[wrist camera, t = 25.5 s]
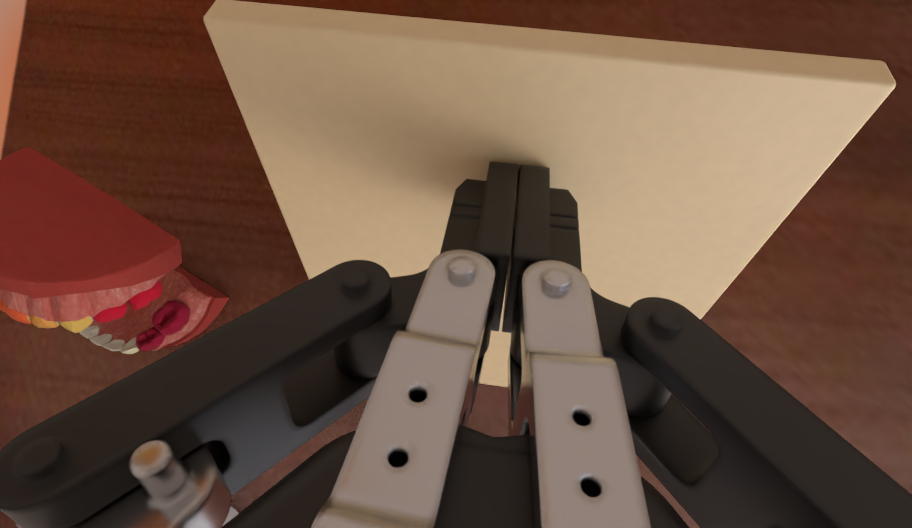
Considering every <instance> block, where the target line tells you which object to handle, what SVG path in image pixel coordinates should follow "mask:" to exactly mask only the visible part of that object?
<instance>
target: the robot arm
mask: <svg viewBox="0 0 912 528" xmlns="http://www.w3.org/2000/svg"><path fill="white" fill-rule="evenodd" d="M517 172H518V164H510V163H501V162H492V161H490V162H489V168H488V174H487V180H486V181H483V180H474V179H466V180H465V181H464V182H463V183H462V184H461V185H460V186H459V187H458V188H456V190H455V194H454V198H453V202H452V206H451V211H450V216H449V219H448V223H447V227H446V231H445V235H444V239H443V243H442V248H441V252H440V255H438V256H437V257H435V258H434V259H433V260H432V262H431V263H430V265H429V268H428V269H426V270H424V271H422V272H420V273H416V274H413V275H407V276H399V277H390V275H389V273H388V272H387V270H386V269H385V268H384V267H382V266H381V265H379V264H377V263H375V262H372V261H367V260H351V261H346V262H343V263H340V264H338V265H336V266H334V267H332V268H330V269H328V270H327V271H325V272H323V273H321V274H319V275H317V276H315V277H313V278H312V279H310V280H308V281H306V282H304V283H302V284H300V285H298V286H297V287H295V288H293V289H291V290H289V291H287V292H285V293H283V294H282V295H280V296H278V297H276V298H274V299H272V300H270V301H268V302H267V303H265V304H263V305H261V306H259V307H257V308H255V309H253V310H252V311H250V312H248V313H246V314H244V315H242V316H240V317H238V318H236V319H235V320H233V321H231V322H229V323H227V324H225V325H223V326H221V327H220V328H218V329H216V330H214V331H212V332H210V333H208V334H206V335H205V336H203V337H201V338H199V339H197V340H195V341H193V342H191V343H190V344H188V345H186V346H184V347H182V348H180V349H178V350H176V351H175V352H173V353H171V354H169V355H167V356H165V357H163V358H161V359H160V360H158V361H156V362H154V363H152V364H150V365H148V366H146V367H145V368H143V369H141V370H139V371H137V372H135V373H133V374H131V375H130V376H128V377H126V378H124V379H122V380H120V381H118V382H116V383H115V384H113V385H111V386H109V387H107V388H105V389H103V390H101V391H100V392H98V393H96V394H94V395H92V396H90V397H88V398H86V399H85V400H83V401H81V402H79V403H77V404H75V405H73V406H71V407H70V408H68V409H66V410H64V411H62V412H60V413H58V414H56V415H55V416H53V417H51V418H49V419H47V420H45V421H43V422H41V423H40V424H38V425H36V426H34V427H32V428H30V429H28V430H27V431H25V432H23V433H22V434H20V435H19V436H17V437H16V438H15V439H13V440H12V441H11V442H10V443H8V444H7V445H6V446H5V447H4V448H3V449H2V450H1V451H0V511H2V512H3V513H4V514H6V515H7V516H8V517H9V518H11V519H12V520H13V521H15V523H16V525H17V527H18V528H689V527H688V526H687V524H686V523H685V522H684V521H683V519H682V518H681V517H680V516H679V515H678V513H677V512H676V511H675V510H674V508H673V507H672V506H671V505H670V504H669V502H668V501H667V500H666V499H665V498H664V497H663V496H662V495H661V494H660V493H659V492H658V491H657V490H656V489H655V488H654V487H653V486H652V485H651V484H650V483H649V482H647V481H646V480H645V479H644V478H642V477H641V476H640V472H639V467H638V462H637V457H636V455H637V456H638V457H639V458H640V459H641V460H642V461H643V463H644V464H645V465H646V466H647V467H648V468H649V469H650V471H651V472H652V473H653V474H654V475H655V476H656V477H657V479H658V480H659V481H660V482H661V483H662V484H663V485H664V487H665V488H666V489H667V490H668V491H669V492H670V493H671V495H672V496H673V497H674V498H675V499H676V500H677V501H678V503H679V504H680V505H681V506H682V507H683V508H684V509H685V511H686V512H687V513H688V514H689V515H690V516H691V517H692V519H693V520H694V521H695V522H696V523H697V524H698V525H699V527H700V528H912V495H911V494H910V493H909V492H908V491H907V490H905V489H904V488H903V487H902V486H900V485H899V484H898V483H897V482H896V481H894V480H893V479H892V478H891V477H890V476H888V475H887V474H886V473H885V472H884V471H882V470H881V469H880V468H879V467H878V466H876V465H875V464H874V463H873V462H872V461H870V460H869V459H868V458H867V457H866V456H864V455H863V454H862V453H861V452H859V451H858V450H857V449H856V448H855V447H853V446H852V445H851V444H850V443H849V442H847V441H846V440H845V439H844V438H843V437H841V436H840V435H839V434H838V433H837V432H835V431H834V430H833V429H832V428H831V427H829V426H828V425H827V424H826V423H825V422H823V421H822V420H821V419H820V418H818V417H817V416H816V415H815V414H814V413H812V412H811V411H810V410H809V409H808V408H806V407H805V406H804V405H803V404H802V403H800V402H799V401H798V400H797V399H796V398H794V397H793V396H792V395H791V394H790V393H788V392H787V391H786V390H785V389H784V388H782V387H781V386H780V385H779V384H777V383H776V382H775V381H774V380H773V379H771V378H770V377H769V376H768V375H767V374H765V373H764V372H763V371H762V370H761V369H759V368H758V367H757V366H756V365H755V364H753V363H752V362H751V361H750V360H749V359H747V358H746V357H745V356H744V355H743V354H741V353H740V352H739V351H738V350H737V349H735V348H734V347H733V346H732V345H730V344H729V343H728V342H727V341H726V340H724V339H723V338H722V337H721V336H720V335H718V334H717V333H716V332H715V331H714V330H712V329H711V328H710V327H709V326H708V325H706V324H705V323H704V322H703V321H702V320H700V319H699V318H698V317H697V316H696V315H694V314H693V313H692V312H691V311H689V310H688V309H687V308H685V307H684V306H682V305H680V304H679V303H676V302H674V301H672V300H669V299H665V298H659V297H647V298H643V299H640V300H638V301H636V302H634V303H633V304H632V305H631V307H627V306H624V305H622V304H619V303H616V302H613V301H611V300H609V299H606V298H604V297H603V296H601V295H599V294H598V293H596V292H595V291H594V290H593V289H592V288H591V287H590V284H589V281H588V279H587V277H586V276H585V275H584V274H583V273H582V266H581V250H580V235H579V220H578V205H577V202H576V200H575V199H574V197H573V196H572V195H571V193H570V192H569V190H566V189H557V188H550V168H548V167H539V166H530V165H520V171H519V178H518V185H517V192H516V183H517ZM515 194H516V199H515ZM505 286H506V291H505ZM504 293H505V302H504V313H503V324H502V332H507V333H511V343H510V350H509V356H508V422H509V435H508V436H507V437H491V436H488V435H485V434H483V433H480V432H478V431H475V430H473V429H470V424H471V419H472V415H473V410H474V405H475V401H476V396H477V391H478V387H479V382H480V377H481V373H482V368H483V363H484V358H485V353H486V351H487V350H488V347H489V342H490V335H491V331H499V327H500V320H501V313H502V307H503V300H504ZM369 396H370V397H369ZM368 397H369V400H368V402H367V405H366V407H365V410H364V412H363V415H362V417H361V420H360V422H359V425H358V428H357V430H356V431H353V432H350V433H348V434H345V435H343V436H341V437H339V438H337V439H335V440H333V441H332V442H330V443H329V444H327V445H325V446H324V447H322V448H321V449H320V450H318V451H317V452H316V453H314V454H313V455H312V456H311V457H309V458H308V459H307V460H306V461H304V462H303V463H302V464H301V465H299V466H298V467H297V468H296V469H294V470H293V471H292V472H291V473H289V474H288V475H287V476H285V477H284V478H283V479H282V480H280V481H279V482H278V483H277V484H275V485H274V486H273V487H272V488H270V489H269V490H268V491H267V492H265V493H264V494H263V495H262V496H260V497H259V498H258V499H256V500H255V501H254V502H253V503H251V504H250V505H249V506H248V507H246V508H245V509H244V510H243V511H241V512H240V513H239V514H238V515H236V516H235V517H234V518H233V519H231V520H230V521H229V522H227V523H226V524H225V525H224V526H222V525H223V524H224V522H225V520H226V518H227V516H228V514H229V510H230V507H231V496H232V495H234V494H235V493H237V492H238V491H239V490H241V489H242V488H244V487H245V486H246V485H248V484H249V483H250V482H252V481H253V480H255V479H256V478H257V477H259V476H260V475H262V474H263V473H264V472H266V471H267V470H268V469H270V468H271V467H273V466H274V465H275V464H277V463H278V462H279V461H281V460H282V459H284V458H285V457H286V456H288V455H289V454H291V453H292V452H293V451H295V450H296V449H297V448H299V447H300V446H302V445H303V444H304V443H306V442H307V441H308V440H310V439H311V438H313V437H314V436H315V435H317V434H318V433H320V432H321V431H322V430H324V429H325V428H326V427H328V426H329V425H331V424H332V423H333V422H335V421H336V420H337V419H339V418H340V417H342V416H343V415H344V414H346V413H347V412H349V411H350V410H351V409H353V408H354V407H355V406H357V405H358V404H360V403H361V402H362V401H364V400H365V399H367V398H368ZM679 401H680V402H681V403H682V404H683V405H684V406H685V407H686V408H687V409H688V410H689V411H690V412H691V413H692V414H693V415H694V416H695V417H696V418H697V419H698V420H699V421H700V422H701V423H702V424H703V425H704V426H705V427H706V428H707V429H708V430H709V431H710V432H711V433H710V432H709V431H708V430H707V429H706V428H705V427H704V426H703V425H702V424H701V423H700V422H699V421H698V420H697V419H696V418H695V417H694V416H693V415H692V414H691V413H690V412H689V411H688V410H687V409H686V408H685V407H684V406H683V405H682V404H681V403H680V402H679Z"/></svg>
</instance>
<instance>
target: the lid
mask: <svg viewBox="0 0 912 528" xmlns="http://www.w3.org/2000/svg"><path fill="white" fill-rule="evenodd" d="M204 23H205V25H206V28H207V30H208V33H209V35H210V38H211V40H212V43H213V45H214V48H215V50H216V52H217V55H218V57H219V60H220V62H221V65H222V67H223V70H224V72H225V75H226V77H227V79H228V82H229V84H230V87H231V89H232V92H233V94H234V97H235V99H236V102H237V104H238V107H239V109H240V111H241V114H242V116H243V119H244V121H245V124H246V126H247V129H248V131H249V134H250V136H251V138H252V141H253V143H254V146H255V148H256V151H257V153H258V156H259V158H260V161H261V163H262V165H263V168H264V170H265V173H266V175H267V178H268V180H269V183H270V185H271V188H272V190H273V193H274V195H275V197H276V200H277V202H278V205H279V207H280V210H281V212H282V215H283V217H284V220H285V222H286V224H287V227H288V229H289V232H290V234H291V237H292V239H293V242H294V244H295V247H296V249H297V251H298V254H299V256H300V259H301V261H302V264H303V266H304V269H305V271H306V274H307V276H308V278H309V280H310V279H312V278H313V277H315V276H317V275H319V274H321V273H323V272H325V271H327V270H328V269H330V268H332V267H334V266H336V265H338V264H340V263H343V262H346V261H351V260H367V261H372V262H375V263H377V264H379V265H381V266H382V267H384V268H385V269H386V270H387V272H388V273H389V275H390V277H399V276H407V275H413V274H416V273H420V272H422V271H424V270H426V269H428V268H429V265H430V263H431V262H432V260H433V259H434V258H435V257H437V256H438V255H440V252H441V248H442V243H443V239H444V235H445V231H446V227H447V223H448V219H449V216H450V211H451V206H452V202H453V198H454V194H455V190H456V188H458V187H459V186H460V185H461V184H462V183H463V182H464V181H465V180H466V179H474V180H483V181H486V180H487V174H488V168H489V162H490V161H492V162H501V163H510V164H518V172H517V183H516V192H517V185H518V178H519V171H520V165H530V166H539V167H548V168H550V188H557V189H566V190H569V192H570V193H571V195H572V196H573V197H574V199H575V200H576V202H577V205H578V220H579V235H580V250H581V266H582V273H583V274H584V275H585V276H586V277H587V279H588V281H589V284H590V287H591V288H592V289H593V290H594V291H595V292H596V293H598V294H599V295H601V296H603V297H604V298H606V299H609V300H611V301H613V302H616V303H619V304H622V305H624V306H627V307H631V305H632V304H633V303H634V302H636V301H638V300H640V299H643V298H647V297H659V298H665V299H669V300H672V301H674V302H676V303H679V304H680V305H682V306H684V307H685V308H687V309H688V310H689V311H691V312H692V313H693V314H694V315H696V316H697V317H698V318H699V319H700V320H701V318H702V317H703V316H704V315H705V314H706V312H707V311H708V310H709V309H710V308H711V306H712V305H713V304H714V303H715V302H716V301H717V299H718V298H719V297H720V296H721V295H722V293H723V292H724V291H725V290H726V289H727V287H728V286H729V285H730V284H731V283H732V281H733V280H734V279H735V278H736V277H737V275H738V274H739V273H740V272H741V271H742V269H743V268H744V267H745V266H746V265H747V264H748V262H749V261H750V260H751V259H752V258H753V256H754V255H755V254H756V253H757V252H758V250H759V249H760V248H761V247H762V246H763V244H764V243H765V242H766V241H767V240H768V238H769V237H770V236H771V235H772V234H773V233H774V231H775V230H776V229H777V228H778V227H779V225H780V224H781V223H782V222H783V221H784V219H785V218H786V217H787V216H788V215H789V213H790V212H791V211H792V210H793V209H794V207H795V206H796V205H797V204H798V203H799V201H800V200H801V199H802V198H803V197H804V196H805V194H806V193H807V192H808V191H809V190H810V188H811V187H812V186H813V185H814V184H815V182H816V181H817V180H818V179H819V178H820V176H821V175H822V174H823V173H824V172H825V170H826V169H827V168H828V167H829V166H830V165H831V163H832V162H833V161H834V160H835V159H836V157H837V156H838V155H839V154H840V153H841V151H842V150H843V149H844V148H845V147H846V145H847V144H848V143H849V142H850V141H851V139H852V138H853V137H854V136H855V135H856V133H857V132H858V131H859V130H860V129H861V128H862V126H863V125H864V124H865V123H866V122H867V120H868V119H869V118H870V117H871V116H872V114H873V113H874V112H875V111H876V110H877V108H878V107H879V106H880V105H881V104H882V102H883V101H884V100H885V99H886V98H887V96H888V95H889V94H890V93H891V92H892V91H893V89H894V88H895V86H896V82H895V80H894V78H893V76H892V74H891V72H890V71H889V69H888V67H887V65H886V63H884V62H883V61H878V60H867V59H856V58H846V57H835V56H824V55H813V54H803V53H792V52H781V51H771V50H760V49H749V48H738V47H728V46H717V45H706V44H696V43H685V42H674V41H663V40H653V39H642V38H631V37H620V36H610V35H599V34H588V33H578V32H567V31H556V30H545V29H535V28H524V27H513V26H502V25H492V24H481V23H470V22H460V21H449V20H438V19H427V18H417V17H406V16H395V15H385V14H374V13H363V12H352V11H342V10H331V9H320V8H309V7H299V6H288V5H277V4H267V3H256V2H245V1H234V0H216V1H215V2H214V4H213V5H212V6H211V8H210V9H209V10H208V12H207V13H206V14H205V16H204ZM515 199H516V194H515ZM505 291H506V286H505ZM504 302H505V293H504V300H503V307H502V313H501V320H500V327H499V331H491V335H490V342H489V347H488V350H487V351H486V353H485V358H484V363H483V368H482V373H481V377H480V382H479V383H482V384H489V385H496V386H503V387H508V356H509V350H510V343H511V333H507V332H502V324H503V313H504Z"/></svg>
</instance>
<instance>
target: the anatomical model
mask: <svg viewBox="0 0 912 528" xmlns="http://www.w3.org/2000/svg"><path fill="white" fill-rule="evenodd" d="M181 263H182V255H181V243H180V241H179V240H178V239H177V238H176V237H174V236H173V235H171V234H170V233H168V232H166V231H165V230H163V229H162V228H160V227H159V226H157V225H155V224H154V223H152V222H151V221H149V220H148V219H146V218H144V217H143V216H141V215H140V214H138V213H137V212H135V211H133V210H132V209H130V208H129V207H127V206H126V205H124V204H122V203H121V202H119V201H118V200H116V199H115V198H113V197H111V196H110V195H108V194H107V193H105V192H104V191H102V190H100V189H99V188H97V187H95V186H94V185H92V184H90V183H89V182H87V181H86V180H84V179H82V178H81V177H79V176H77V175H76V174H74V173H72V172H71V171H69V170H68V169H66V168H64V167H63V166H61V165H59V164H58V163H56V162H54V161H53V160H51V159H49V158H48V157H46V156H45V155H43V154H41V153H40V152H38V151H36V150H35V149H33V148H31V147H27V148H24V149H21V150H18V151H16V152H15V153H13V154H11V155H9V156H7V157H5V158H3V159H2V160H0V310H2V311H3V312H5V313H7V314H8V315H9V316H10V317H11V318H12V319H14V320H16V321H19V322H23V323H27V324H31V323H33V324H34V325H35V326H37V327H38V328H55V327H58V326H59V324H60V325H62V326H63V327H64V328H65V329H67V330H69V331H72V332H74V333H77V332H79V333H80V334H81V335H82V336H84V337H86V338H87V339H90V341H92V342H93V343H94V344H96V345H99V346H103V347H104V348H106V349H109V350H111V351H121V352H122V353H125V354H134V353H136V352H138V351H140V350H141V351H150V350H153V351H156V350H158V349H160V348H166V347H171V346H177V345H180V344H182V343H184V342H187V341H189V340H190V339H192V338H193V337H195V336H197V335H198V334H200V333H201V332H203V331H204V330H205V329H206V328H207V327H208V326H209V325H210V324H211V323H212V322H213V321H214V319H215V318H216V317H217V316H218V315H219V313H220V312H221V310H222V309H223V307H224V306H225V304H226V303H227V301H228V300H229V297H227V296H225V295H224V294H222V293H221V292H219V291H218V290H216V289H214V288H213V287H211V286H210V285H208V284H207V283H205V282H203V281H202V280H200V279H199V278H197V277H196V276H194V275H192V274H191V273H189V272H188V271H186V270H184V269H183V268H181V267H180V266H179V265H180V264H181ZM58 323H59V324H58Z"/></svg>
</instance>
